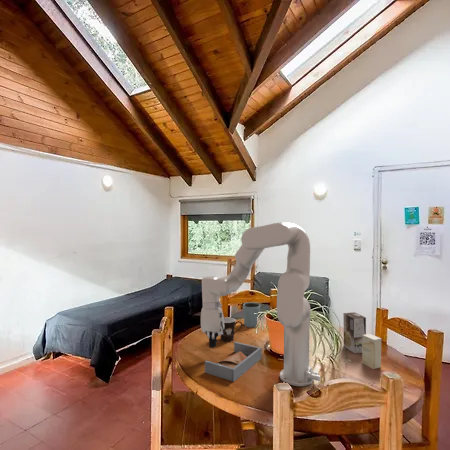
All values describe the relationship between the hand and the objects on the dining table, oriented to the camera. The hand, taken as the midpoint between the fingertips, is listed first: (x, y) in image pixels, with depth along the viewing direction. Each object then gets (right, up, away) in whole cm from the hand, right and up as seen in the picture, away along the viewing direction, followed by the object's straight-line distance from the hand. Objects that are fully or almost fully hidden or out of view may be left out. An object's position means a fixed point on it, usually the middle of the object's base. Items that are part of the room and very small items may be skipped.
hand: (213, 346), depth 135 cm
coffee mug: (+8, -5, +22) cm, 24 cm away
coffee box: (+66, -5, +10) cm, 67 cm away
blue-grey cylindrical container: (+21, -5, +45) cm, 50 cm away
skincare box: (+67, -5, -7) cm, 67 cm away
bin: (+9, -5, -6) cm, 12 cm away
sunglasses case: (+9, -6, -7) cm, 13 cm away
